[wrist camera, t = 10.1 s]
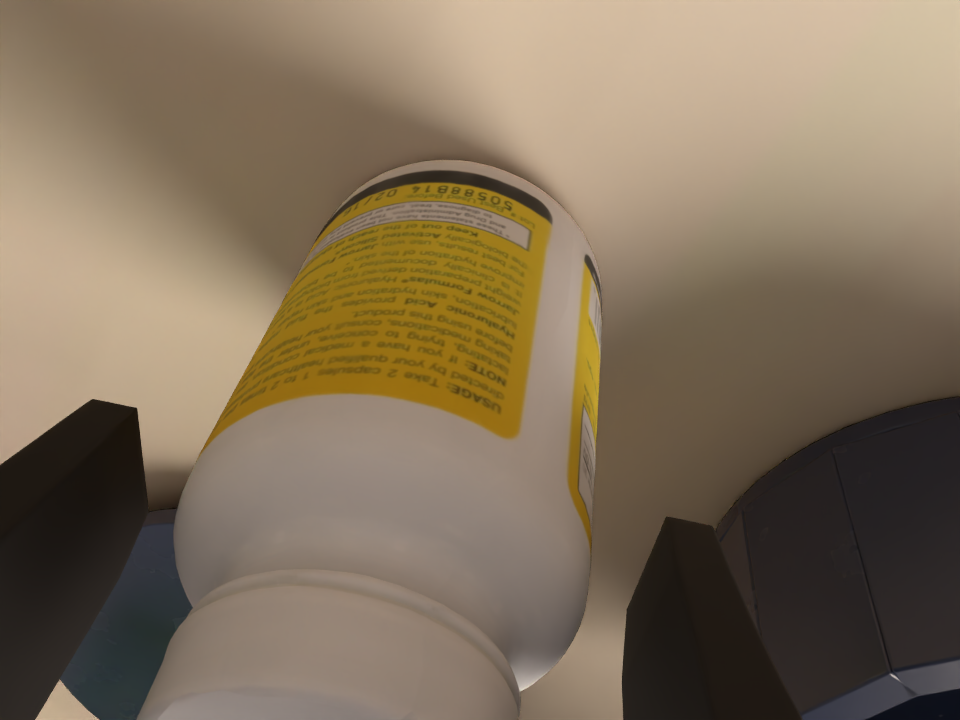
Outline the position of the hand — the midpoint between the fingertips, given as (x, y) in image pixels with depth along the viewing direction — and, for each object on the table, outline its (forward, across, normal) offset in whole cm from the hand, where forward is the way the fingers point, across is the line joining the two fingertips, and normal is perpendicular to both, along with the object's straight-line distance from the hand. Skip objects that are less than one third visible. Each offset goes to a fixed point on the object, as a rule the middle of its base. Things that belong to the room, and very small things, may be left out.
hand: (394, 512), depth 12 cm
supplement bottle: (+6, 0, 0) cm, 6 cm away
